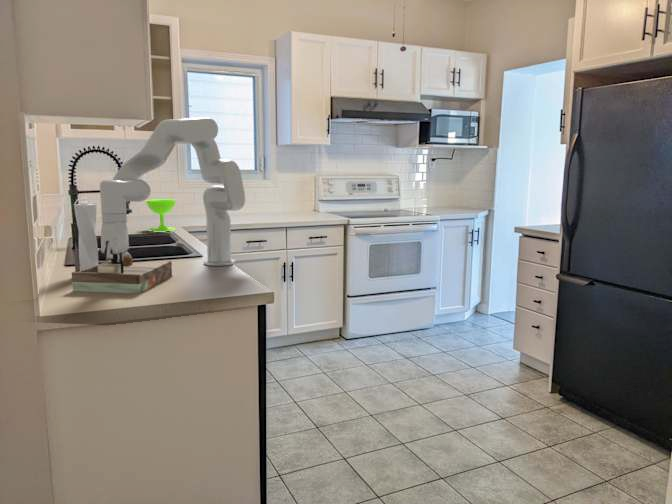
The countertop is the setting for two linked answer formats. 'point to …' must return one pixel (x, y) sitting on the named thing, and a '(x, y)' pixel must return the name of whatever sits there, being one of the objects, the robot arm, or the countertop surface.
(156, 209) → the wineglass
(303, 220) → the countertop surface
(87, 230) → the skyscraper
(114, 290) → the trap box
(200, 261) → the countertop surface
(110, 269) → the birch block
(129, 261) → the bread roll
